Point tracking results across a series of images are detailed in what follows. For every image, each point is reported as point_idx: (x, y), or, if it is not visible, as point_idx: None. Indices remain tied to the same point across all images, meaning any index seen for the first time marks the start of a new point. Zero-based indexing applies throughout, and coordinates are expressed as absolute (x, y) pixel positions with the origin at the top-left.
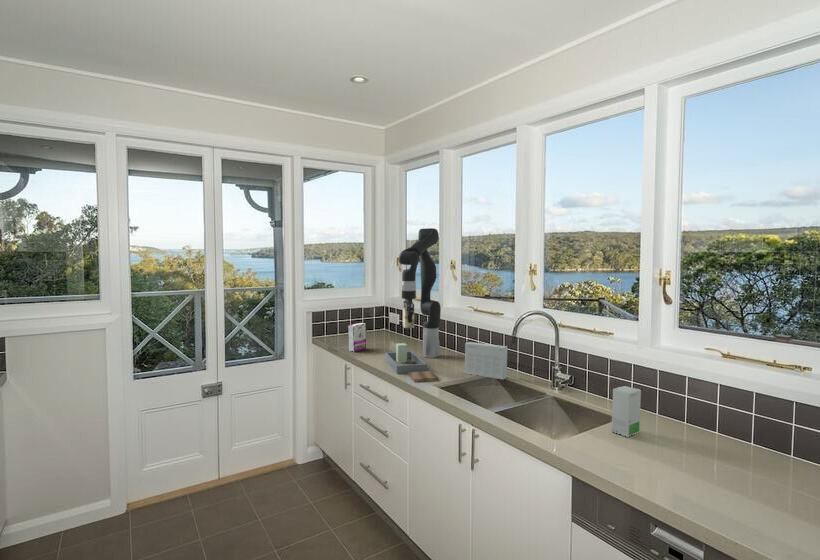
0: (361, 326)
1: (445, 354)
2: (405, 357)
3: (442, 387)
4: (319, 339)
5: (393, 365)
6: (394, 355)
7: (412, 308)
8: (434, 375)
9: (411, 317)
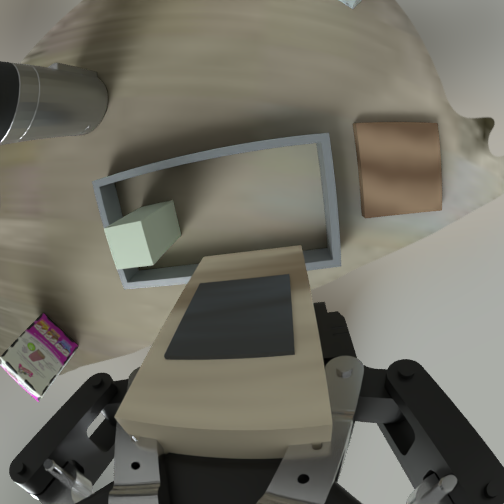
0: (18, 367)
1: (69, 56)
2: (166, 211)
3: (485, 137)
4: None
5: None
6: None
7: (465, 446)
8: (415, 128)
9: (352, 347)
